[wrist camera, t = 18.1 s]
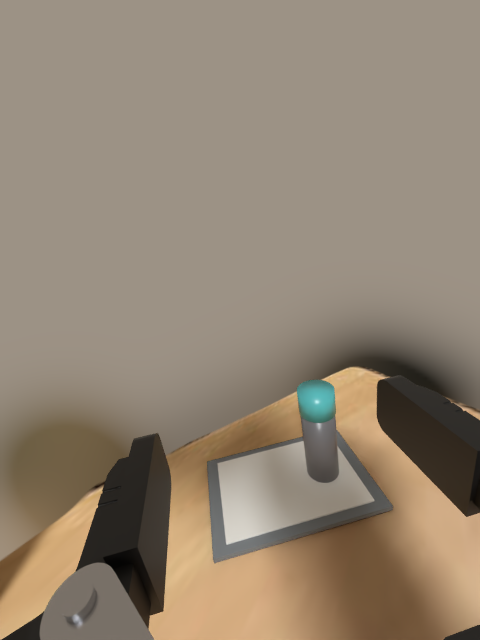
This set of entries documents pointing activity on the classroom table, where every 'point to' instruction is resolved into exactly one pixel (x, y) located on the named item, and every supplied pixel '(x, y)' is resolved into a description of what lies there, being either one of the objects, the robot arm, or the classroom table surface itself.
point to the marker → (319, 429)
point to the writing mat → (284, 497)
